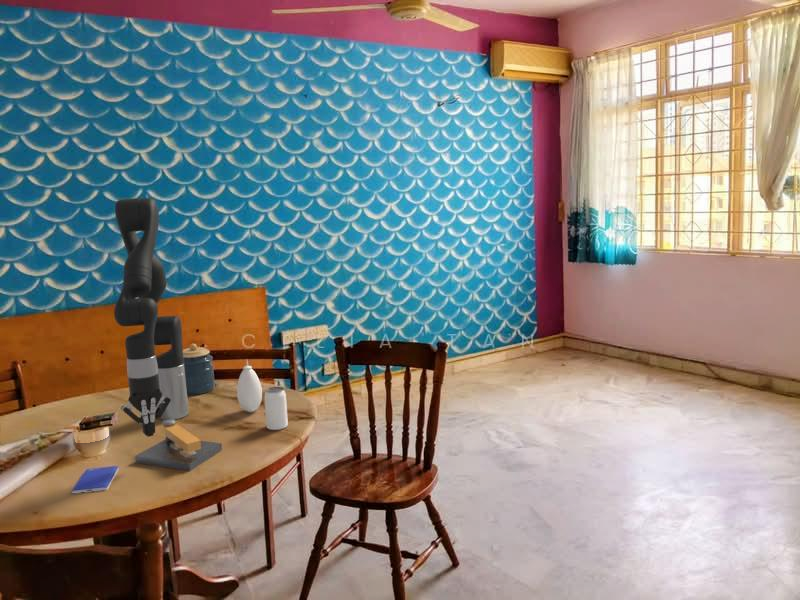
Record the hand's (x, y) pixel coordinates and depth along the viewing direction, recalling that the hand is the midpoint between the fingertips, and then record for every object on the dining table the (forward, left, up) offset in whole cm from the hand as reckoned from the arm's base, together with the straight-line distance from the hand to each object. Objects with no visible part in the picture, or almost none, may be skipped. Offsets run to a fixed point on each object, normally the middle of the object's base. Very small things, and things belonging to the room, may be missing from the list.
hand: (149, 435), depth 174 cm
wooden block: (+4, +7, -6) cm, 10 cm away
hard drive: (-7, -13, -9) cm, 17 cm away
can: (+19, +33, -8) cm, 39 cm away
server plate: (+4, +6, -8) cm, 11 cm away
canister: (-30, +58, -8) cm, 66 cm away
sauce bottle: (+3, +43, -8) cm, 44 cm away
